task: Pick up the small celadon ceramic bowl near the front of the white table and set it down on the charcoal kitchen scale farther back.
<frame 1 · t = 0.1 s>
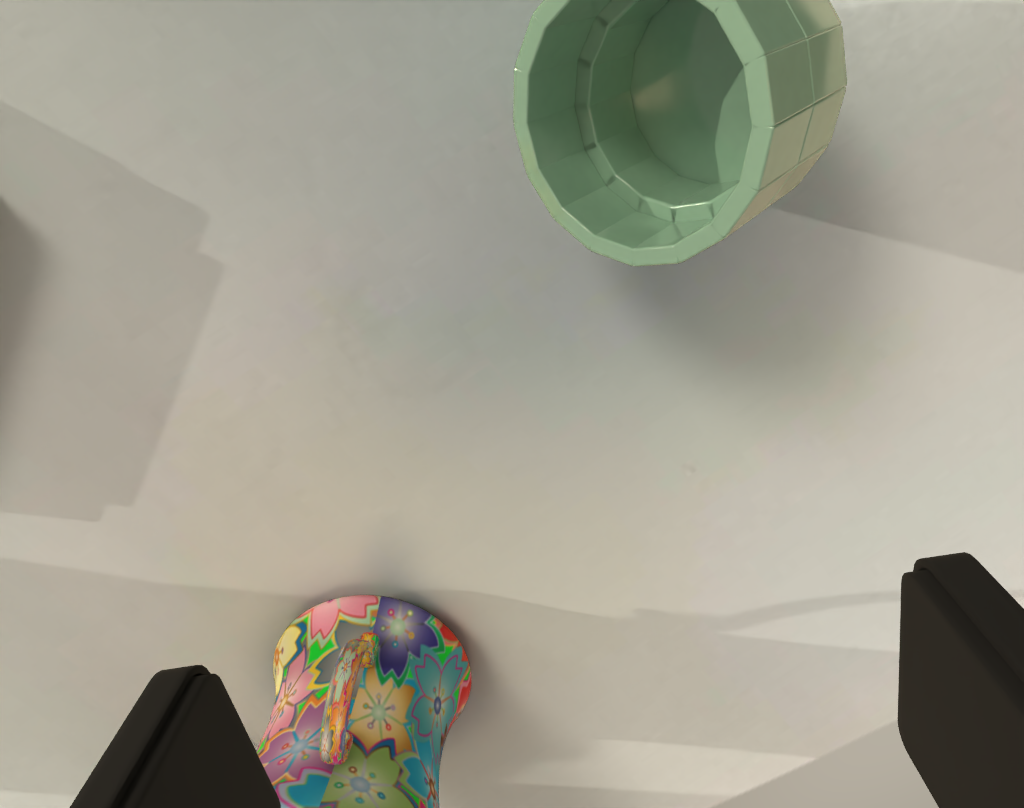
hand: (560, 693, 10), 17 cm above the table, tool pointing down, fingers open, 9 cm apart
mug: (380, 632, 31), on the table
bowl: (722, 84, 20), point 2 cm above the table, tilted 40°
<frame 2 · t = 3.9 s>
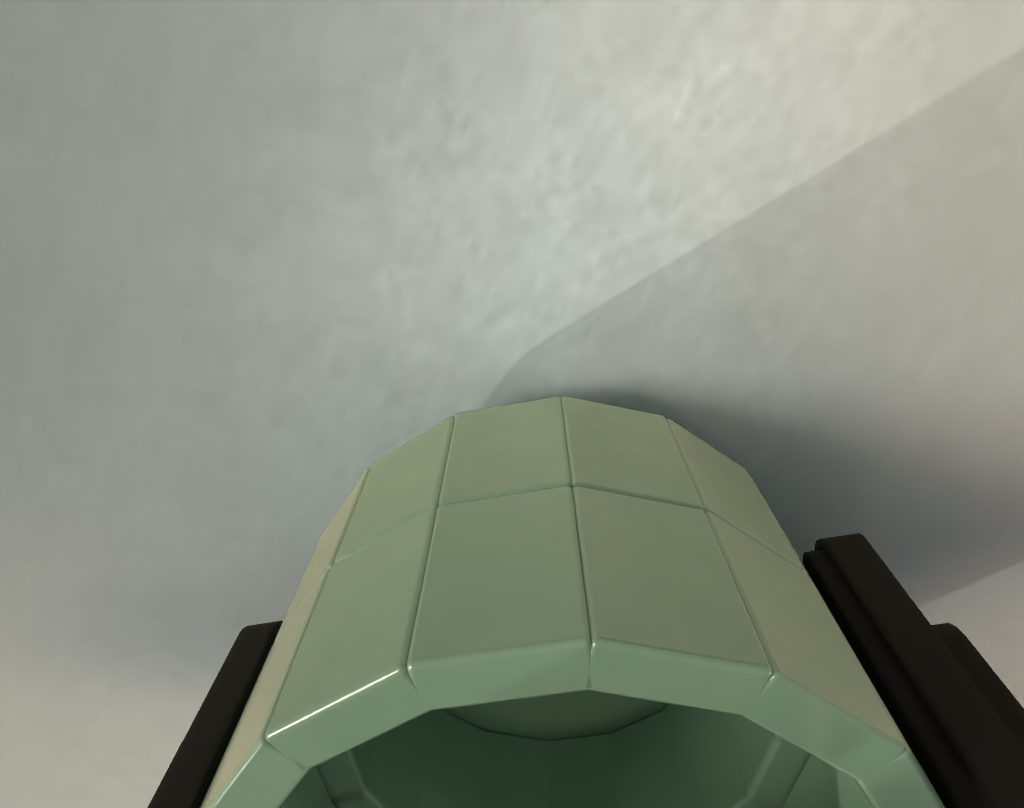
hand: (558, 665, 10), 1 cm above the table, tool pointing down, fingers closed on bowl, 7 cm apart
bowl: (550, 587, 11), on the table, touching gripper
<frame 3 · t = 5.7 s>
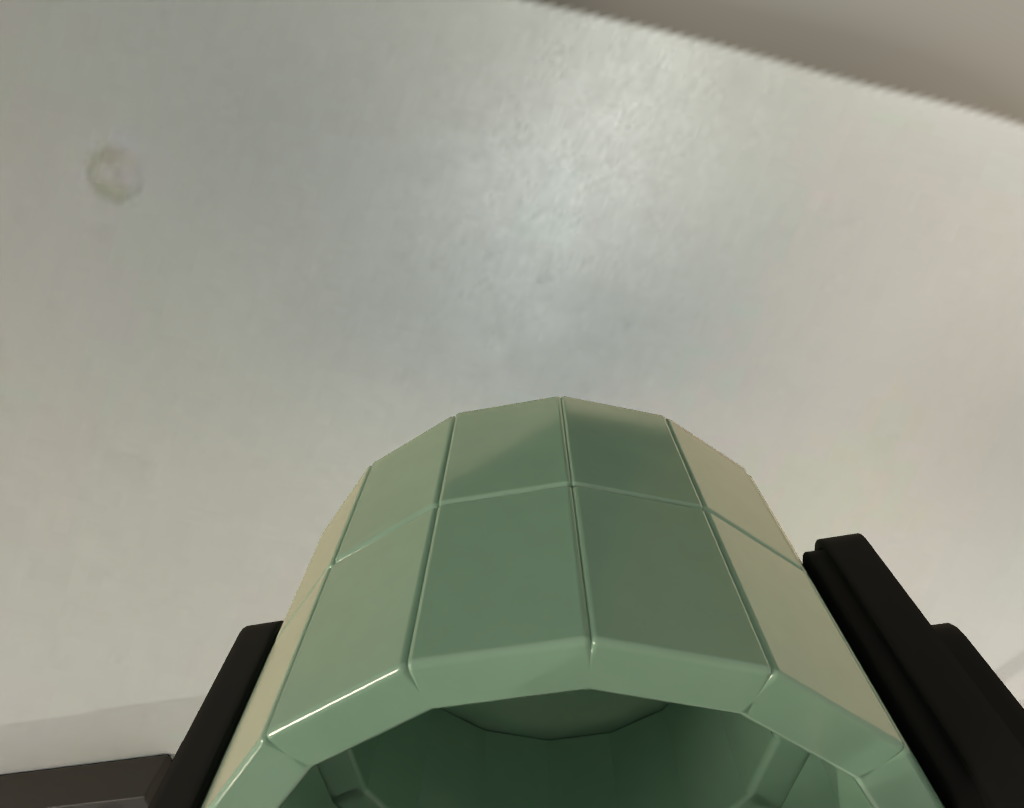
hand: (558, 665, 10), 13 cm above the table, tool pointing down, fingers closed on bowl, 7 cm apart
bowl: (550, 587, 11), point 12 cm above the table, touching gripper
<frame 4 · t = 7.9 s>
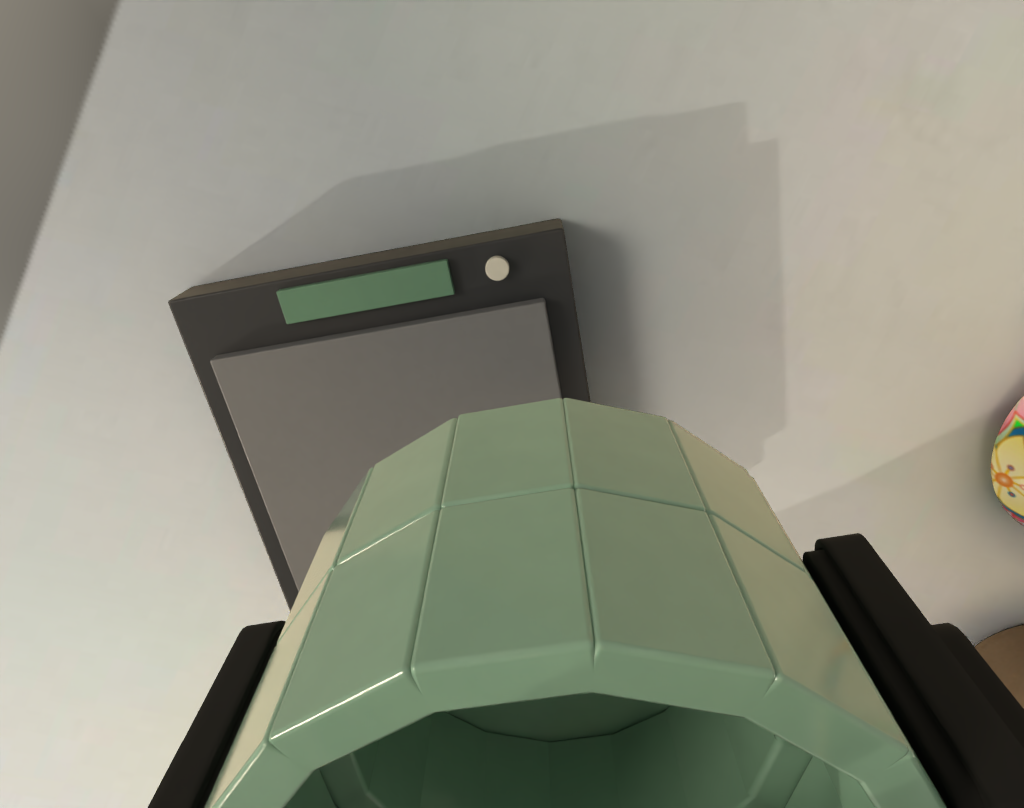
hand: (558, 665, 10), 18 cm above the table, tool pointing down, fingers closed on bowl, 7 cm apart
flower pot: (1014, 672, 34), on the table
scale: (416, 422, 29), on the table
bowl: (551, 588, 11), point 17 cm above the table, touching gripper
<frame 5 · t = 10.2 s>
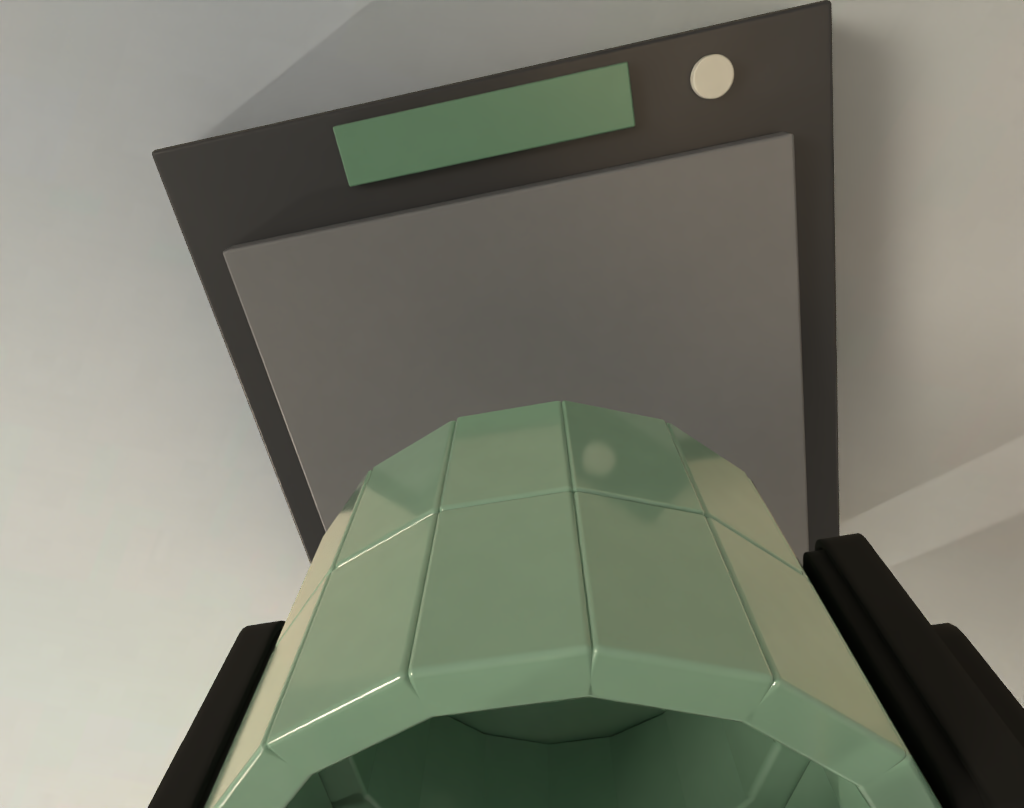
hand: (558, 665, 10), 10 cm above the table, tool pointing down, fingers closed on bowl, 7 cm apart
scale: (537, 363, 19), on the table
bowl: (550, 591, 11), point 9 cm above the table, touching gripper
when the fingers open (4 cm above the table, at t = 12.2 s): bowl stays where it is, resting on scale.
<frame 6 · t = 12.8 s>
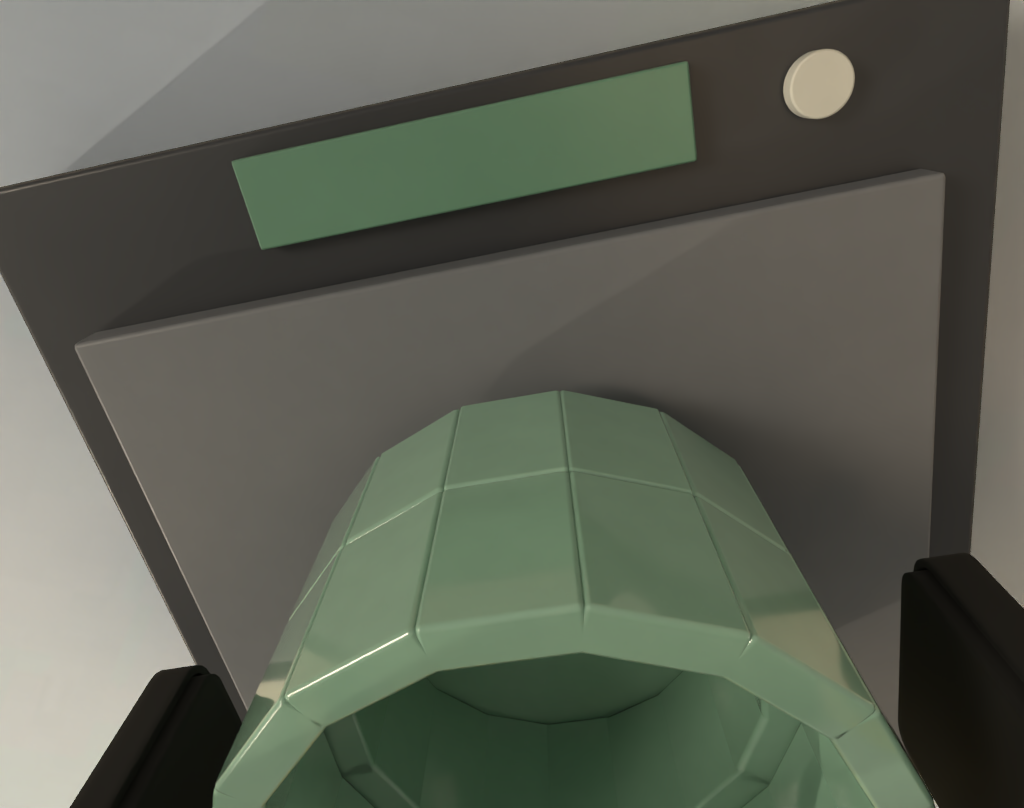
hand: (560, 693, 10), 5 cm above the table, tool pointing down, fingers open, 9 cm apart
scale: (542, 474, 14), on the table
bowl: (550, 575, 12), point 3 cm above the table, touching scale
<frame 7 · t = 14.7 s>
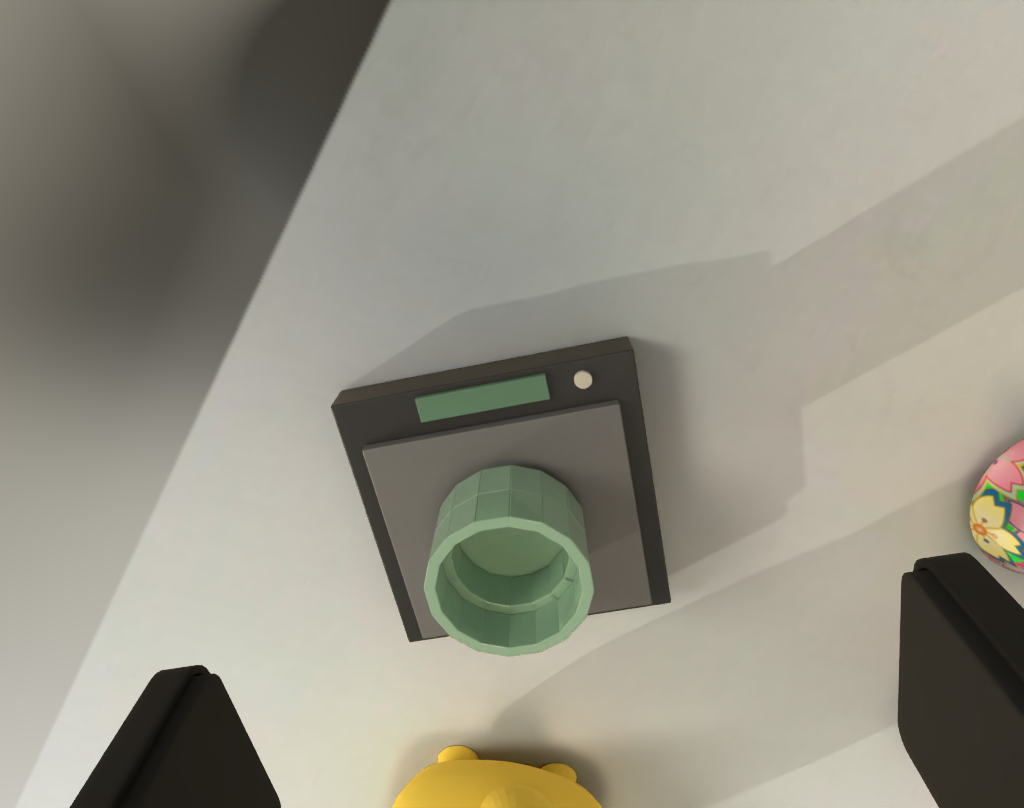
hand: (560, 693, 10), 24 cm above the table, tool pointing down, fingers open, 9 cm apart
teapot: (502, 785, 45), on the table
scale: (511, 489, 36), on the table
bowl: (511, 524, 34), point 3 cm above the table, touching scale
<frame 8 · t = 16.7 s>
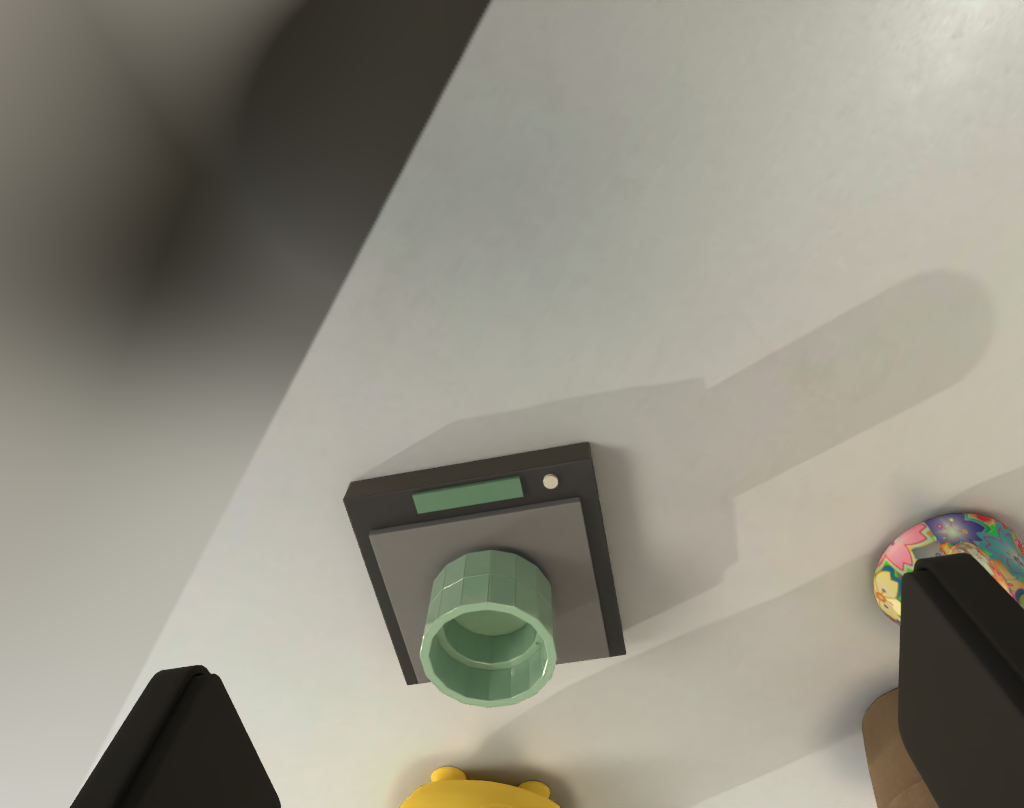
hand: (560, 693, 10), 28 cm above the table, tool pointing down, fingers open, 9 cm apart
teapot: (486, 799, 52), on the table
flower pot: (907, 716, 48), on the table
scale: (493, 560, 43), on the table
mug: (929, 546, 43), on the table
bowl: (492, 593, 41), point 3 cm above the table, touching scale
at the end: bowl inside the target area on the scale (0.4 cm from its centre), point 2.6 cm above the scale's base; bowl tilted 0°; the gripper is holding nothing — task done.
